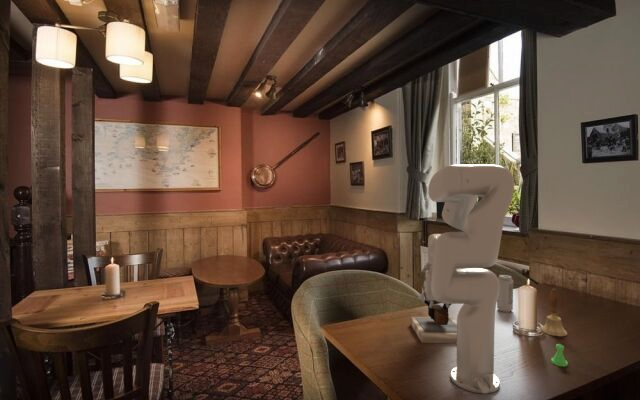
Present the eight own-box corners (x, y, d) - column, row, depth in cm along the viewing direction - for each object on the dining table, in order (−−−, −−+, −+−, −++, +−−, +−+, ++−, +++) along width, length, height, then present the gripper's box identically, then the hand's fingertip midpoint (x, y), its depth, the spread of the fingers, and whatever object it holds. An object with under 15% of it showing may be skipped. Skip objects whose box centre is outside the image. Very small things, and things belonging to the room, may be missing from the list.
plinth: (468, 342, 124) (468, 333, 124) (422, 342, 124) (422, 333, 124) (451, 324, 140) (452, 316, 140) (410, 324, 140) (410, 316, 140)
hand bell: (538, 332, 133) (539, 289, 132) (543, 325, 139) (544, 284, 138) (565, 338, 127) (566, 294, 126) (569, 331, 133) (570, 288, 132)
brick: (449, 325, 127) (449, 312, 126) (437, 325, 127) (438, 312, 126) (438, 314, 137) (438, 302, 137) (427, 314, 137) (428, 302, 137)
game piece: (549, 363, 110) (549, 343, 110) (552, 358, 113) (553, 339, 113) (565, 368, 107) (566, 348, 107) (569, 363, 110) (569, 343, 110)
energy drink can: (499, 307, 159) (500, 273, 158) (514, 310, 155) (515, 276, 154) (494, 310, 155) (495, 276, 154) (510, 314, 151) (510, 278, 150)
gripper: (418, 270, 127) (417, 321, 128) (465, 270, 127) (465, 321, 128) (413, 265, 135) (412, 313, 136) (457, 265, 135) (457, 313, 136)
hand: (438, 317), depth 132 cm, fingers closed on brick, 4 cm apart
